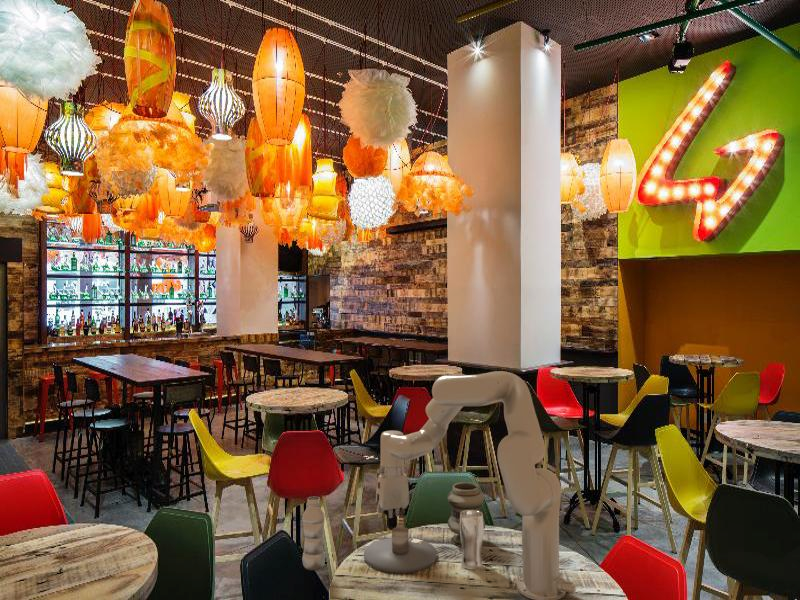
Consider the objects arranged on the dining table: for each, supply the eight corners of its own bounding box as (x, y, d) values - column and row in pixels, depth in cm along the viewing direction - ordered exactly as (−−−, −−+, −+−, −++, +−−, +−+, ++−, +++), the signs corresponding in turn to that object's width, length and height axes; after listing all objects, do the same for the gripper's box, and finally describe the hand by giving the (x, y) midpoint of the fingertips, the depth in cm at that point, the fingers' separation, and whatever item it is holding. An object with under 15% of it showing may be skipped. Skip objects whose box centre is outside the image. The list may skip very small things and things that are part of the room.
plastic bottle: (313, 575, 158) (313, 503, 159) (297, 569, 162) (297, 499, 163) (330, 567, 163) (329, 497, 164) (313, 561, 167) (313, 493, 168)
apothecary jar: (440, 543, 180) (440, 486, 181) (459, 531, 190) (459, 478, 191) (474, 552, 173) (473, 493, 174) (491, 539, 183) (491, 484, 184)
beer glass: (483, 571, 160) (482, 518, 161) (458, 569, 161) (458, 516, 162) (484, 561, 167) (484, 510, 167) (461, 559, 168) (460, 508, 169)
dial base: (449, 551, 174) (449, 546, 174) (412, 579, 155) (412, 573, 155) (390, 537, 186) (390, 532, 186) (349, 561, 167) (349, 555, 167)
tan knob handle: (408, 554, 168) (408, 532, 168) (391, 554, 168) (391, 532, 168) (408, 537, 180) (408, 518, 181) (393, 537, 180) (393, 517, 181)
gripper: (377, 477, 172) (376, 537, 171) (418, 470, 180) (418, 528, 179) (365, 471, 178) (365, 529, 178) (406, 464, 186) (405, 520, 186)
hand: (391, 528), depth 178 cm, fingers closed
